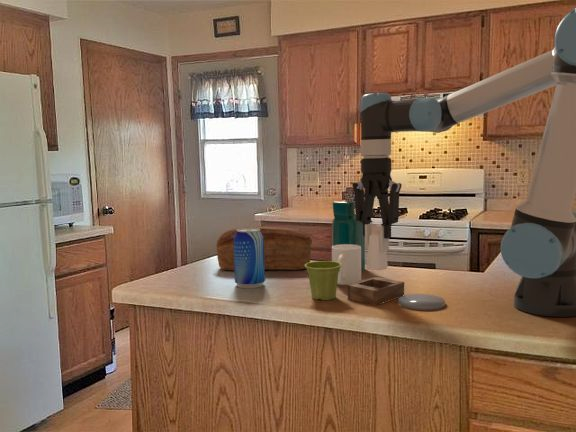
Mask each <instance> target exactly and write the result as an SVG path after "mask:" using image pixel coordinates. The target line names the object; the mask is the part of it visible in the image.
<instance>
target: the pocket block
mask: <svg viewBox="0 0 576 432" xmlns="http://www.w3.org/2000/svg"><path fill="white" fill-rule="evenodd" d="M403 295H405V281H400V280H396V279H389V278H384V277H379V276H373V277H370V278H366V279H364V280H361V281H360V282H357V283H353V284H350V285H347V300H351V299H352V300H351V301H357V302H360V301H361V303H366V304H369V303H370V304H371V305H374V304H375V306H379V305H382V304H383V302H384V303H387V302H389V301H388V300H390V301H392V300H391V299H393V300H395V299H397V297H398V298H399V297H400V296H403ZM394 298H395V299H394ZM386 301H387V302H386ZM378 304H379V305H378Z"/></svg>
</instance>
